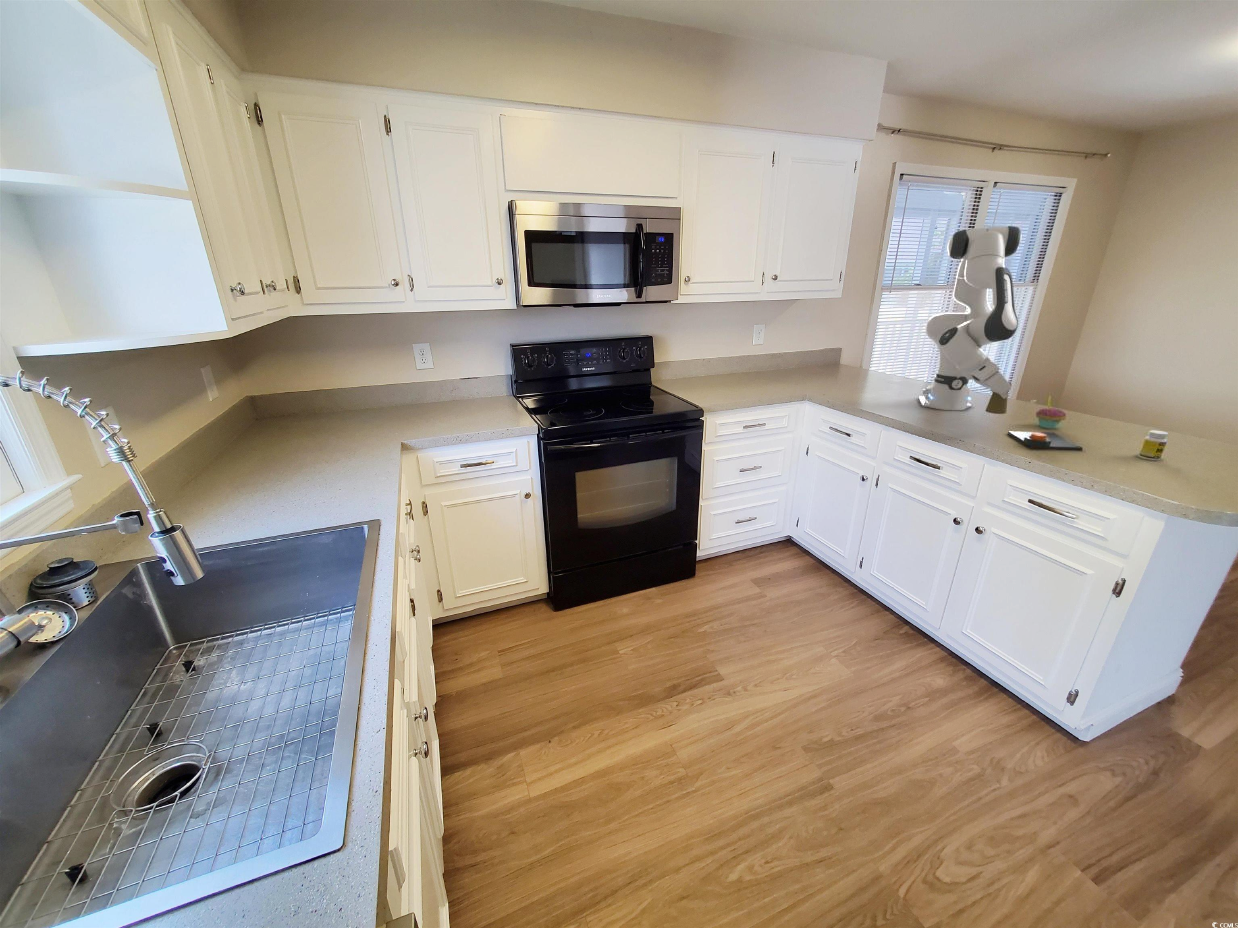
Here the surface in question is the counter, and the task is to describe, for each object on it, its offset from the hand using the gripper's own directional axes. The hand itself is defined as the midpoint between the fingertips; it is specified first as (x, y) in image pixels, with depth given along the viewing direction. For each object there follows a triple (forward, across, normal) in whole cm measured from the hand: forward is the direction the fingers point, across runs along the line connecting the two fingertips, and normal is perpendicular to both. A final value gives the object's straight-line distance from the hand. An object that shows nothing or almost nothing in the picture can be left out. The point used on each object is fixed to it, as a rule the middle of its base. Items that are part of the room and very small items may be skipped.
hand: (1001, 395), depth 172 cm
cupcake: (+27, -12, +6) cm, 30 cm away
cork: (+4, 0, -5) cm, 6 cm away
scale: (+19, +7, -2) cm, 20 cm away
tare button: (+14, +12, -3) cm, 19 cm away
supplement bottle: (+35, +20, +14) cm, 42 cm away
